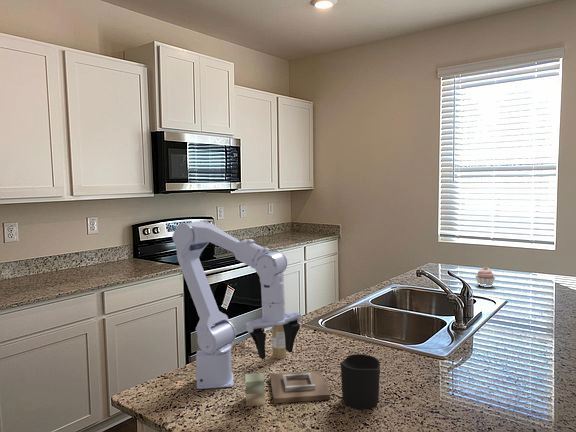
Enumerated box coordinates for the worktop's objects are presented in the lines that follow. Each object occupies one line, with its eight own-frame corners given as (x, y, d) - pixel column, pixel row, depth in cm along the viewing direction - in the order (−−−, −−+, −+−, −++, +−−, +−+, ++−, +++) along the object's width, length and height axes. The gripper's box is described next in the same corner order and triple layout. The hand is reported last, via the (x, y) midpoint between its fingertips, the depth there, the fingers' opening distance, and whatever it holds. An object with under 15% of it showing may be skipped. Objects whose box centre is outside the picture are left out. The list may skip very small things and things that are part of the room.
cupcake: (477, 288, 219) (477, 268, 218) (473, 284, 228) (473, 264, 227) (498, 288, 217) (498, 268, 216) (492, 284, 226) (492, 264, 226)
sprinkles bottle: (271, 354, 141) (270, 311, 140) (286, 353, 141) (285, 311, 140) (272, 359, 136) (271, 316, 135) (287, 358, 136) (286, 315, 135)
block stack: (246, 406, 108) (245, 382, 108) (245, 397, 113) (245, 374, 112) (264, 404, 109) (264, 380, 108) (263, 395, 113) (263, 372, 113)
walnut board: (274, 403, 109) (273, 394, 109) (270, 378, 123) (269, 370, 123) (330, 399, 111) (330, 390, 111) (320, 375, 125) (320, 367, 125)
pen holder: (387, 407, 106) (387, 366, 106) (350, 414, 104) (350, 372, 103) (369, 390, 115) (368, 352, 115) (335, 395, 113) (334, 356, 112)
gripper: (253, 309, 104) (256, 366, 105) (306, 299, 111) (308, 352, 112) (241, 303, 110) (244, 357, 111) (292, 294, 118) (294, 344, 118)
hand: (275, 354), depth 112 cm, fingers open, 7 cm apart
